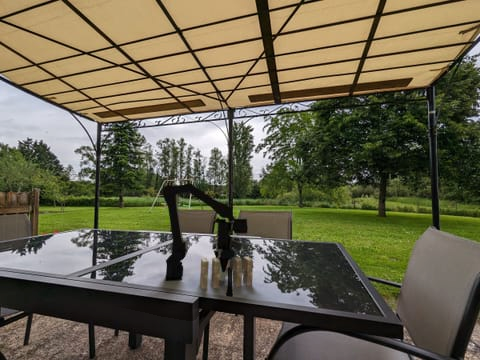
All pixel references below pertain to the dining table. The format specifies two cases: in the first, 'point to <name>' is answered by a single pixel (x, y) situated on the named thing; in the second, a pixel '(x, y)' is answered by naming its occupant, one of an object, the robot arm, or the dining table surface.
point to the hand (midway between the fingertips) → (222, 269)
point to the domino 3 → (222, 275)
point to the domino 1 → (204, 273)
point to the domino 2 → (215, 272)
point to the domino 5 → (247, 271)
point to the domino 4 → (237, 271)
